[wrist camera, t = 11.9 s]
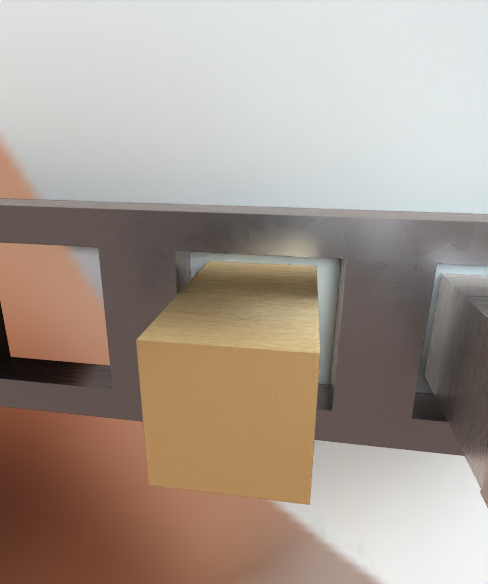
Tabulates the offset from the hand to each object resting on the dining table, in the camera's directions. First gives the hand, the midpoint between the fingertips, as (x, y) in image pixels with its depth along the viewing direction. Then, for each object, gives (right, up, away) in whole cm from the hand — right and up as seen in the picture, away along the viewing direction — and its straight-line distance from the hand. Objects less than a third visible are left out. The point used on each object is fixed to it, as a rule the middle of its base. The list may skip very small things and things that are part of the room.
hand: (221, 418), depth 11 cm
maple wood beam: (+1, +2, +8) cm, 8 cm away
